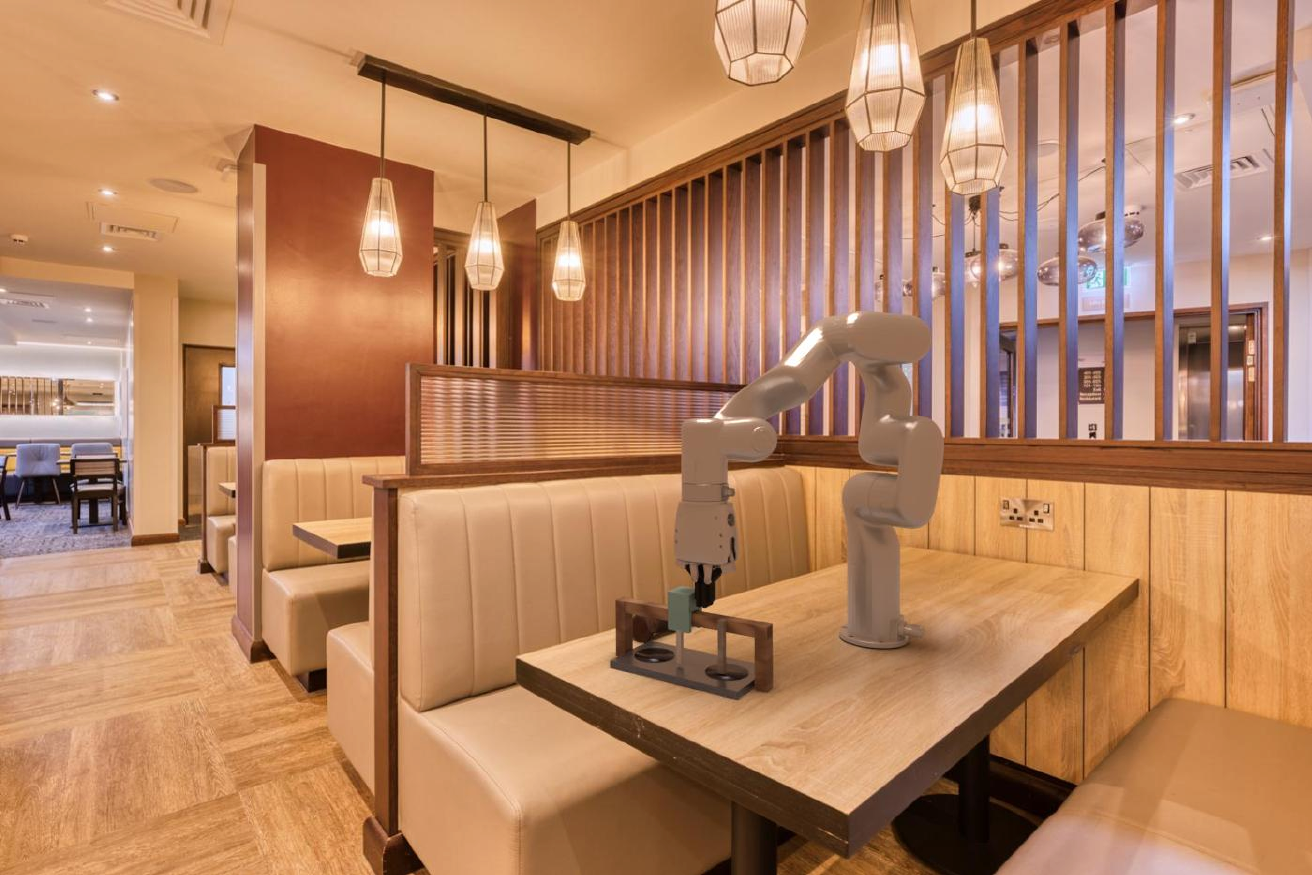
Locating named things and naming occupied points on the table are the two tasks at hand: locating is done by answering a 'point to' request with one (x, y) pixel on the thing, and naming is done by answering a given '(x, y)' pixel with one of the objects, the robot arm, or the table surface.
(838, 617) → the table surface
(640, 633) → the bolt
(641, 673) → the hole plate
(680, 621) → the slider block
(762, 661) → the beam
